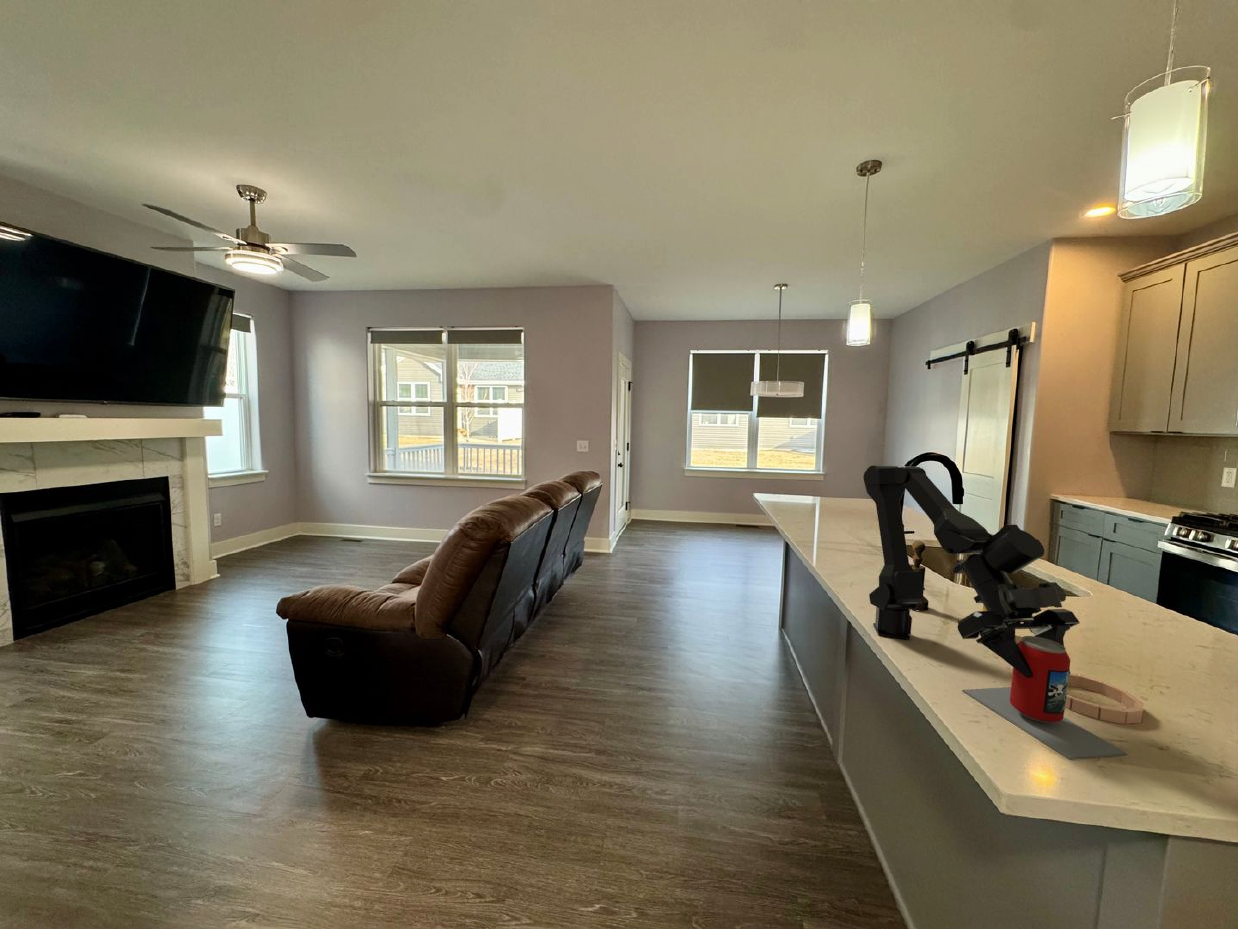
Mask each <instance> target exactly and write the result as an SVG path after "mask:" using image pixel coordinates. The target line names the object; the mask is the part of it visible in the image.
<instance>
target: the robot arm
mask: <svg viewBox="0 0 1238 929" xmlns="http://www.w3.org/2000/svg"><path fill="white" fill-rule="evenodd" d="M863 482H864V487H865V490H866V493H867V495H868V496H869V497H870V498H871V499H872V501H873V502H874V503H875V508H876V512H877V513H876V514H877V522H878V529H879V535H880V541H881V542H880V543H881V548H882V550H881V551H882V556H883V563H884V564H883V566H882V569H881V571H880V573H879V575H878V586H877V587H876V588H875V589H874V590H872V591H871V592H870V593H868V598H869V604H870V605H873V606H874V607H876V608H875V609H876V611H875V621H874V622H873V624H872V625H873V628H874V630H875V631H876V633H877V635H878V636H881V637H888V638H894V639H895V638H896V639H902V640H908V641H909V640H911V636H910V635H911V634H912V624H913V623H912V622H913V617H912V616H911V615H910V614H911V609H913V610H912V611H916V610H917V607H918V605H919V603H920V601H921V599H922V598H923V596H924V593H923V590H924V591H925V590H926V588H925V585H924V586H923V582H922V574H921V572H920V571H915V570H914V569H913V568H912V567H911V565H910V564H911V563H910V561H909V552H908V548H907V542H906V541H907V540H906V535H905V533H906V532H905V530H904V529H905V527H904V521H903V515H902V510H901V508H902V507H901V502H900V501H901V499H902V497H903V495H904V493H905V492H906V491H907V492H908V493H909V495H910V496H911V498H913V500H914V501H915V502H916V504H918V506H919V507H920V509H921V510H922V511H923V512H924V513H925V515H926V516H927V517H928V518H929V519H930V521H931V522H932V524H933V535H934V536H935V538H936V540H937V542H938V543H939V545H940V546H941V549H943V551H944V552H946V553H947V554H951V555H968V556H967V557H966V558H964V559H960V558H959V559H956V560H955V565H954V566H953V569H952V573H953V574H955V575H960V574H961V575H964V574H965V576H966V577H967V579H968V582H970V584H971V586H972V588H973V590H974V592H975V594H976V596H973V600H974V601H975V603H976V604H982V606H983V605H984V606H985V608H986V610H987V611H983V610H978V611H977V610H975V611H974V612H972V613H971V614H968V615H967V616H964V617H963V618H962V619H960V620H958V622H957V627H956V628H957V631H958V632H959V634H960V636H961V638H962V640H974V639H976V640H975V641H976V643H977V644H982V645H983V646H985V647H986V648H988V649H989V650H990V651H991V652H993V653H995V654H996V655H997V656H998V657H1000V658H1001V659H1002V660H1004V661H1005V662H1006V663H1007V664H1008V665H1009V666H1011V667H1012V668H1013V667H1014V668H1015V669H1016V670H1017V671H1018V672H1020V673H1021V674H1022V675H1023V676H1025V677H1026V678H1030V677H1032V676H1033V674H1032V671H1031V669H1030V667H1029V665H1028V663H1027V661H1026V659H1025V658H1024V656H1023V654H1022V652H1021V650H1020V648H1019V647H1018V645H1017V644H1018V642H1017V641H1016V630H1029V631H1030V633H1032V634H1033V636H1035V637H1041V638H1045V639H1049V640H1052V641H1055V642H1057V643H1059V644H1061V645H1063V646H1064V647H1065V643H1064V637H1065V635H1066V632H1068V631H1070V629H1071V628H1072V627H1075V626H1077V625H1079V624H1080V623H1081V622H1080V621H1079V619H1078V618H1077V616H1076V615H1075V613H1074V612H1073V611H1071V610H1069V609H1066V608H1063V605H1062V602H1066V600H1067V594H1066V593H1065V591H1064V590H1063V588H1062V587H1061V586H1060V585H1059V584H1058V582H1056V581H1055V582H1053V581H1052V582H1040V583H1039V584H1038V587H1031V588H1030V587H1029V588H1025V586H1023V585H1022V584H1021V583H1020V582H1019V583H1013V581H1012V580H1011V579H1010V576H1008V574H1016V573H1017V572H1020V570H1023V569H1024V568H1026V567H1027V566H1029V565H1030V564H1032V563H1033V562H1036V561H1037V560H1039V559H1040V558H1041V557H1043V556H1044V555H1045V548H1044V546H1043V543H1041V541H1040V540H1039V539H1037V538H1036V537H1034V536H1033V535H1032V534H1030V533H1029V532H1027V531H1025V530H1023V529H1021V528H1020V527H1019V526H1018V525H1017V524H1015V523H1014V524H1012V523H1011V524H1007V523H1006V524H1005V525H1004V526H1002V527H1001V528H1000V529H999V530H998V531H997V532H996V533H994V534H993V533H990V532H988V530H987V529H986V528H985V527H984V525H982V524H981V523H979V522H978V521H976V520H975V519H974V518H973V517H970V516H968V515H967V514H964V513H962V512H960V511H959V510H958V509H957V508H956V507H955V506H954V505H953V504H952V502H950V501H949V500H948V498H947V497H946V496H945V495H944V494H943V492H942V491H941V490H940V489H939V487H937V485H936V484H935V483H934V482H933V481H932V480H931V478H929V476H928V475H927V471H926V470H925V469H924V468H923V467H920V466H910V465H909V466H904V465H903V466H901V467H899V466H898V465H870V466H869V467H867V469H866V470H865V471H864V473H863ZM905 490H906V491H905ZM1007 573H1008V574H1007ZM1048 607H1049V609H1046V608H1048ZM1050 607H1053V608H1050ZM1042 608H1043V609H1046V610H1043V611H1042ZM1034 614H1036V615H1034ZM1033 615H1034V616H1033ZM979 636H980V637H979ZM1070 673H1071V670H1069V675H1070Z"/></svg>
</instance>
